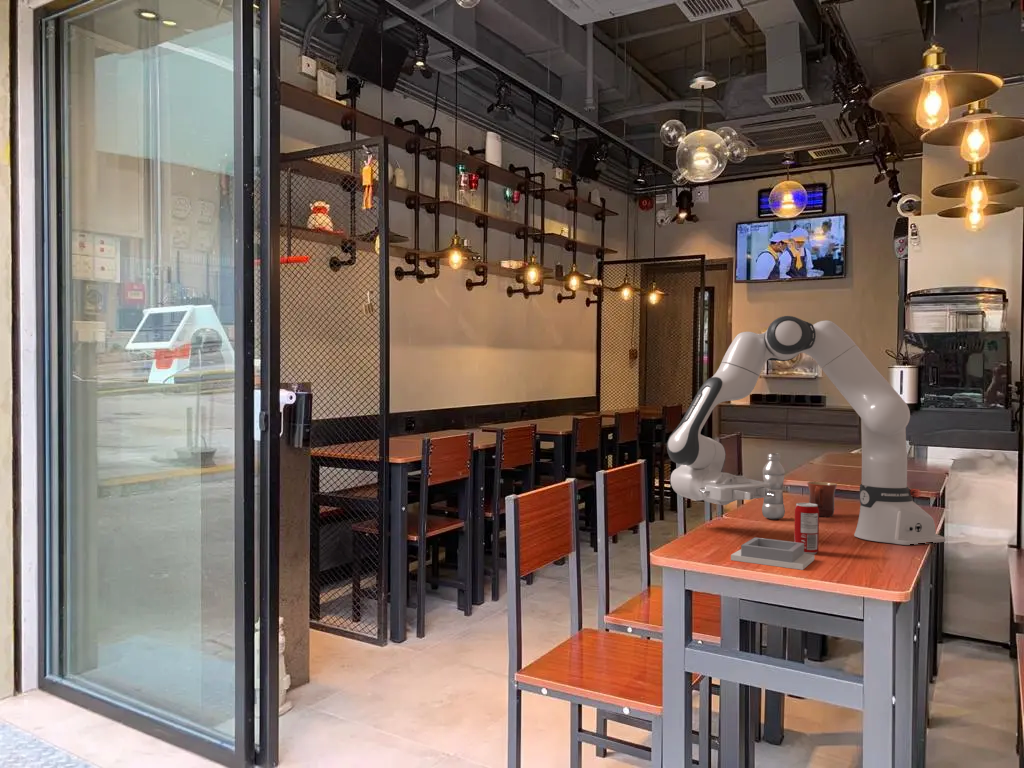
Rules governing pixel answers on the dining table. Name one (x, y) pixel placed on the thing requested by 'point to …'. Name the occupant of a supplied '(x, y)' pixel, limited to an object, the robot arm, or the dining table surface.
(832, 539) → the dining table surface
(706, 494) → the robot arm
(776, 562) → the caddy
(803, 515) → the soda can
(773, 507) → the plastic bottle
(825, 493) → the mug
